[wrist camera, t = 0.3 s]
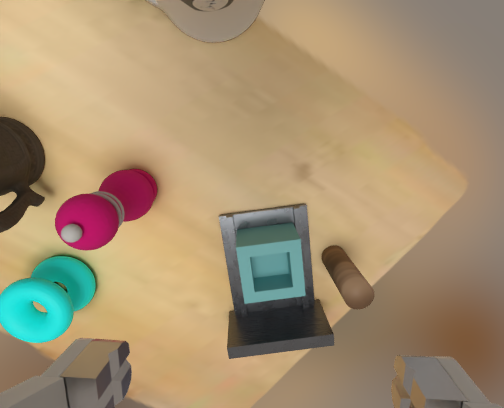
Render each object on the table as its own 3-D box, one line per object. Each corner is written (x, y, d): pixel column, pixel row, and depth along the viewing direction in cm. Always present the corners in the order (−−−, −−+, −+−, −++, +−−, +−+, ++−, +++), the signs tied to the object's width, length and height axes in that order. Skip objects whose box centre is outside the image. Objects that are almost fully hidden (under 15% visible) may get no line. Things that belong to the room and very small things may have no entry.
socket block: (236, 229, 49) (236, 247, 42) (292, 222, 49) (300, 239, 42) (244, 279, 51) (244, 303, 45) (297, 272, 51) (305, 295, 45)
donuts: (47, 358, 44) (-21, 326, 42) (82, 315, 54) (28, 287, 52) (78, 308, 42) (8, 271, 40) (109, 272, 52) (53, 242, 50)
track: (213, 215, 49) (207, 236, 41) (311, 202, 49) (326, 221, 41) (231, 320, 55) (229, 358, 46) (319, 309, 55) (334, 345, 46)
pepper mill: (133, 155, 46) (56, 182, 27) (170, 188, 48) (122, 235, 29) (104, 189, 48) (10, 237, 28) (140, 219, 49) (75, 285, 30)
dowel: (320, 247, 51) (343, 284, 40) (344, 244, 51) (374, 280, 40) (322, 268, 53) (344, 311, 41) (345, 265, 53) (374, 307, 41)
